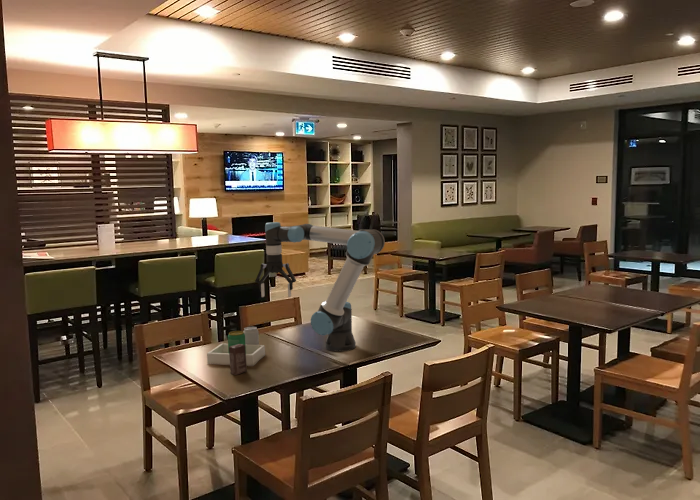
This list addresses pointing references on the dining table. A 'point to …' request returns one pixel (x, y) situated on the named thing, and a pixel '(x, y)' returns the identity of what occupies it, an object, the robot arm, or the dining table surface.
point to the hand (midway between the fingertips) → (276, 296)
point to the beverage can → (236, 339)
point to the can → (251, 336)
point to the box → (237, 359)
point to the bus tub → (223, 358)
